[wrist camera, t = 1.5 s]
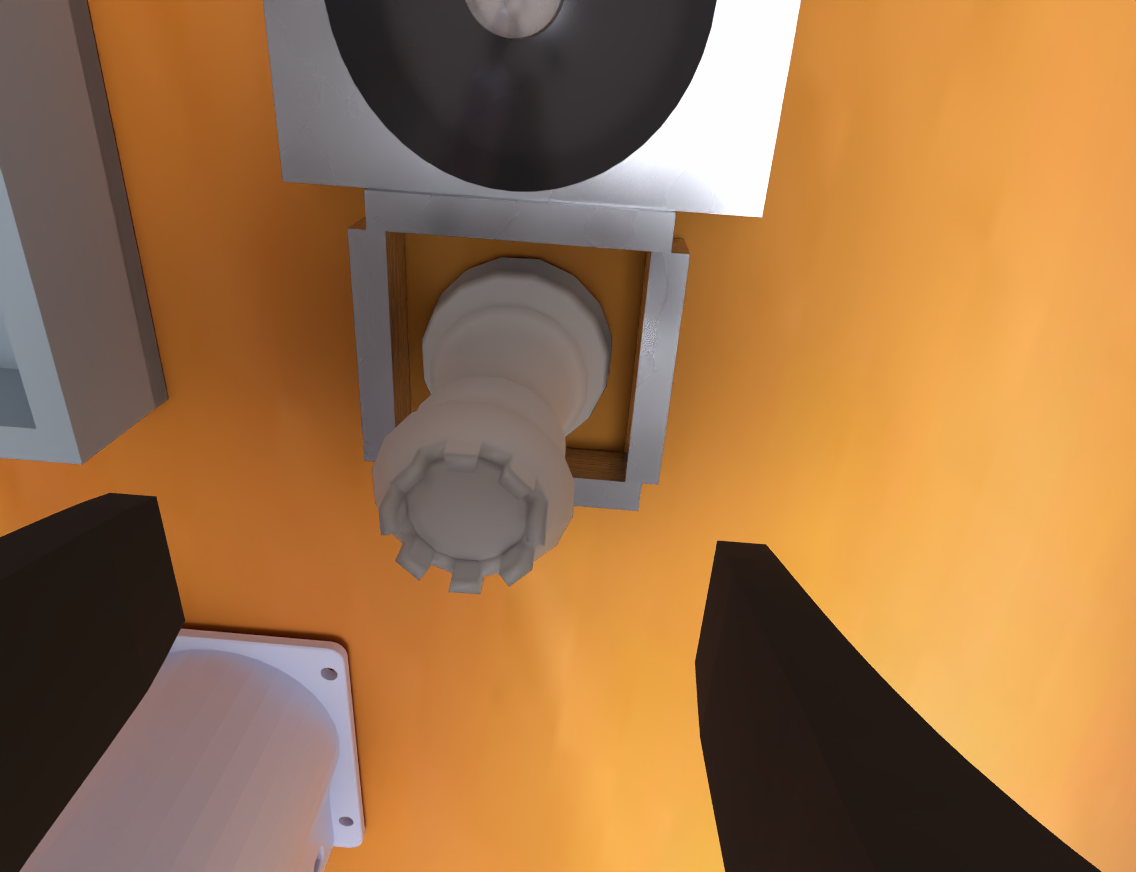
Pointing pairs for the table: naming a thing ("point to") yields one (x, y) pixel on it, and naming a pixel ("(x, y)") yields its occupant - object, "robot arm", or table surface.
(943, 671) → the table surface
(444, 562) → the rook chess piece
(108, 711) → the robot arm
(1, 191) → the tray
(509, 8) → the pulley bracket
